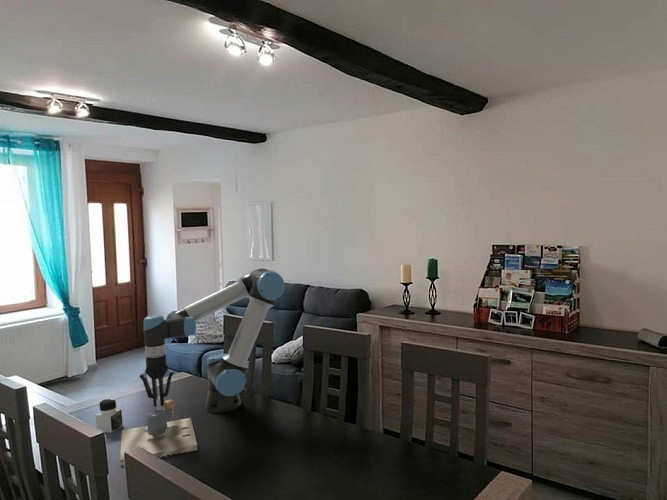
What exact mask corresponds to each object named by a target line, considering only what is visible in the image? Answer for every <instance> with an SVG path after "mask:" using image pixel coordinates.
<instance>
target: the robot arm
mask: <svg viewBox="0 0 667 500" xmlns="http://www.w3.org/2000/svg"><path fill="white" fill-rule="evenodd" d="M284 281H285V280H284V278H283V277H282V276H281V274H279V273H278V272H276V271H274V270H270V269H267V268H258V269H255V270H252V271H251V272H249V273H247V274H245V275H243V276H241V277H239V278H238V279H237V281H236V282H235V283H232V284H230V285H228V286H226V287H224V288H222V289H219V290H218V291H215V292H214V293H211V294H210V295H208V296H205V297H203V298H202V299H199V300H197V301H196V302H193V303H191V304H189V305H187V306H185V307H183V308H180V309H179V310H173V311H170V312H169V313H168V314H167V316H166V318H165V319H164V316H163V315H161V314H154V315H148V316H146V317H144V319H143V338H144V340H143V341H144V353H145V356H146V357H145V369H144V372H142V373H140V374H139V379H141V381H142V383H143V386H144V389H145V392H146V394H147V395H146V396H147V397H148V398H149V399H152V400H153V407H154V408H155V407H156V411H158V410H163V407H164V401H165V397H167V396H168V395H169V392H170V386H171V382H172V378H173V376H174V373H175V370H174V369H169V367H168V365H167V355H166V353H167V351H166V340H169V339H175V338H177V339H178V338H184V337H185V338H189V336H190V337H191V336H194V335H196V333H197V323H196V322H198V321H200V320H202V319H204V318H206V317H208V316H210V315H212V314H214V313H216V312H217V311H219V310H222V309H224V308H226V307H228V306H230V305H232V304H234V303H237V302H238V301H240V300H242V299H244V298H246V299H249V302H248V304H247V307H246V310H245V312H244V314H243V316H242V319H241V320H240V321H241V322H240V323H239V326H238V328H237V331H236V333H235V336H234V337H233V340H232V343H231V345H230V348H229V350H228V353H221V354H220V353H219V354H214V355H210V356H209V357H207V359H206V368H207V371H206V372H207V383H208V392H207V396H206V400H205V410H206V411H208V412H209V413H214V414H220V413H221V414H222V413H228V412H232V411H235V410H237V409H238V408H240V407H241V404H242V402H241V397H240V393H241V392H242V391H243V390H244V388H245V387H246V383H247V382H246V379H247V378H246V374H247V371H248V369H249V365H248V359H249V357H250V355H251V352H252V350H253V347H254V345H255V343H256V341H257V337H258V336H259V333H260V331H261V328H262V326H263V323H264V321H265V318H266V316H267V314H268V311H269V309H271V308H272V307H274V306H275V304H276V301H277V299H279V298H281V296H282V295H283V293H284V292H285V287H286V286H285V285H286V284H285V282H284ZM166 374H167V376H168V377H167V378H166V379H167V380H166V385H165V388H164V377H165V375H166ZM147 376H148V377H149V378H150V380H151V385H152V388H151V386H150V383H149V380H148V377H147ZM157 380H158V386H157ZM158 388H159V396H158Z"/></svg>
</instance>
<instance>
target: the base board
mask: <svg viewBox="0 0 667 500" xmlns="http://www.w3.org/2000/svg"><path fill="white" fill-rule="evenodd" d="M146 427H147V425H144V426H138V427H133V428H132V427H131V428H128V429H122V430H121V441H120V454H119V466H121V467H122V466H125V465H124V452H125V451H128V450H130V449H132V448H135V447H140V448H143V449H145V450H146V451H148V452H150V453H152V454H154V455H156V456H157V457H160V458H163V457H162V456H165V457H168V456H167V455H170V456H173V455H172V454H175V455H178V453H180V454H183V453H184V452H185V453H188V452H193V451H197V450H198V442H197V437H196V434H195V430H194V427H193V421H192V419H191V417H187V418H182V419H177V420H171V421H167V427H171V430H170V432H165V433H163V434H160V435H149V434H148V432H144V429H145V428H146Z"/></svg>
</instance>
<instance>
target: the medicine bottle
mask: <svg viewBox="0 0 667 500" xmlns="http://www.w3.org/2000/svg"><path fill="white" fill-rule="evenodd" d="M122 412H123V411H122V409H121V408H117V401H116V399H115V398H105V399H103V400H101V401H100V402H99V412H98V413H97V414H95V425H96V427H95V428H98V429H100V430H102V431H104V432H103V433H108V434H109V433H110V434H112V433H114V432H116V431H117V430H118V429H119V428H121V427H122V426H123V425H124V423H123V413H122Z"/></svg>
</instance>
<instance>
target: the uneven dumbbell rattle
mask: <svg viewBox="0 0 667 500" xmlns="http://www.w3.org/2000/svg"><path fill="white" fill-rule="evenodd" d="M175 411H176V410H175V405H174V400H173V399H166V400H164V405H163V408H162V410H158V411H157V410H152V411H150V412H149V413H147V414H146V426H147V427H146V428H145V429H144V432H148V434H149V435H160V434H163V433H165V432H170V430H171V427H167V422H169V420H170V419H171V418H174V417H175Z"/></svg>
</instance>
